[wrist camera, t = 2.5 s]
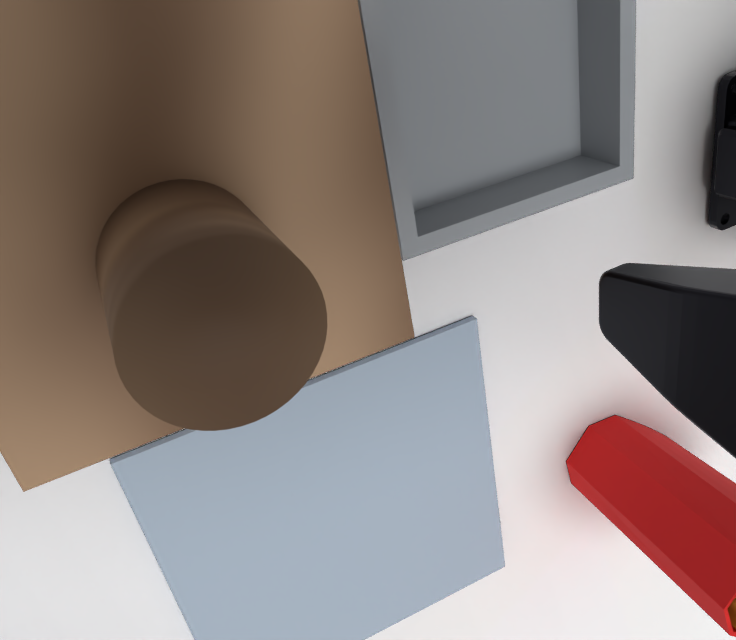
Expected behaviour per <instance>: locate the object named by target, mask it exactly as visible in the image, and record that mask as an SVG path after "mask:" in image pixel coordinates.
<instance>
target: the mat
mask: <svg viewBox="0 0 736 640" xmlns="http://www.w3.org/2000/svg"><path fill="white" fill-rule="evenodd" d="M110 463H111V466H112V468H113V470H114V472H115V474H116V477H117V479H118V481H119V483H120V485H121V487H122V489H123V491H124V493H125V495H126V497H127V499H128V502H129V504H130V506H131V508H132V510H133V512H134V514H135V516H136V518H137V520H138V522H139V524H140V526H141V529H142V531H143V533H144V535H145V537H146V539H147V541H148V543H149V545H150V547H151V549H152V551H153V554H154V556H155V558H156V560H157V562H158V564H159V566H160V568H161V570H162V572H163V574H164V576H165V579H166V581H167V583H168V585H169V587H170V589H171V591H172V593H173V595H174V597H175V599H176V601H177V604H178V606H179V608H180V610H181V612H182V614H183V616H184V618H185V620H186V622H187V624H188V626H189V628H190V631H191V633H192V635H193V637H194V639H195V640H365V639H367V638H369V637H371V636H372V635H374V634H376V633H378V632H380V631H382V630H384V629H386V628H388V627H390V626H392V625H394V624H395V623H397V622H399V621H401V620H403V619H405V618H407V617H409V616H411V615H413V614H415V613H417V612H419V611H420V610H422V609H424V608H426V607H428V606H430V605H432V604H434V603H436V602H438V601H440V600H442V599H443V598H445V597H447V596H449V595H451V594H453V593H455V592H457V591H459V590H461V589H463V588H465V587H467V586H468V585H470V584H472V583H474V582H476V581H478V580H480V579H482V578H484V577H486V576H488V575H490V574H491V573H493V572H495V571H497V570H499V569H501V568H503V567H505V561H504V552H503V543H502V535H501V526H500V517H499V509H498V500H497V491H496V483H495V474H494V465H493V456H492V448H491V439H490V430H489V422H488V413H487V404H486V396H485V387H484V378H483V370H482V361H481V352H480V343H479V335H478V326H477V319H476V318H475V317H473V316H471V317H468V318H466V319H463V320H461V321H458V322H456V323H453V324H451V325H448V326H446V327H443V328H440V329H438V330H435V331H433V332H430V333H428V334H425V335H423V336H420V337H418V338H415V339H413V340H410V341H408V342H405V343H403V344H400V345H398V346H395V347H392V348H390V349H387V350H385V351H382V352H380V353H377V354H375V355H372V356H370V357H367V358H365V359H362V360H360V361H357V362H355V363H352V364H349V365H347V366H344V367H342V368H339V369H337V370H334V371H332V372H329V373H327V374H324V375H322V376H319V377H317V378H314V379H312V380H309V381H307V382H306V384H305V385H304V386H303V387H302V388H301V390H300V391H299V392H298V393H297V394H296V395H295V396H294V397H293V398H292V399H291V400H290V401H288V402H287V403H286V404H285V405H283V406H282V407H281V408H279V409H278V410H276V411H275V412H273V413H271V414H270V415H268V416H266V417H264V418H262V419H260V420H258V421H256V422H253V423H250V424H247V425H244V426H241V427H237V428H232V429H227V430H218V431H200V430H191V429H185V430H183V431H180V432H178V433H175V434H173V435H170V436H168V437H165V438H162V439H160V440H157V441H155V442H152V443H150V444H147V445H145V446H142V447H140V448H137V449H135V450H132V451H130V452H127V453H125V454H122V455H120V456H117V457H114V458H112V459H110Z"/></svg>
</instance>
